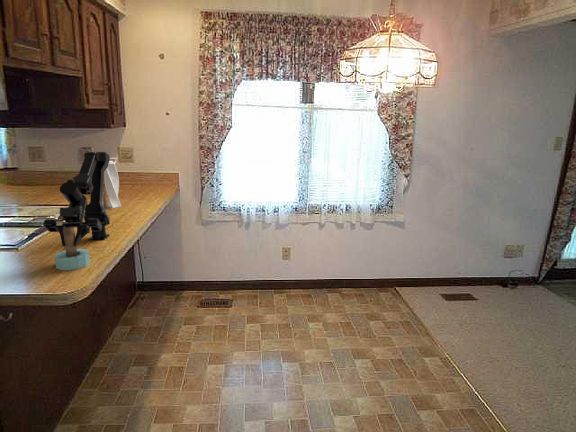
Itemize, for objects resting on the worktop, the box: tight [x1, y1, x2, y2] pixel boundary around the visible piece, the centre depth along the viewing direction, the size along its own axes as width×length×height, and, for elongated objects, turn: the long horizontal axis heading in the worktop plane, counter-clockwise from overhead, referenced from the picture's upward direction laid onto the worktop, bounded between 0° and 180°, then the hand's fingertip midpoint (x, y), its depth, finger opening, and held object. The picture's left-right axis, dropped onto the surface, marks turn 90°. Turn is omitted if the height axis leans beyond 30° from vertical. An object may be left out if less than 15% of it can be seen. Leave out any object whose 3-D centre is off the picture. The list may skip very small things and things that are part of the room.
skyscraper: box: [102, 157, 122, 210], centre depth 221 cm, size 8×8×28 cm
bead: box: [54, 248, 91, 271], centre depth 145 cm, size 11×11×4 cm
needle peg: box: [63, 227, 78, 257], centre depth 143 cm, size 4×4×13 cm
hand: (69, 245), depth 142 cm, fingers closed on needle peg, 4 cm apart
